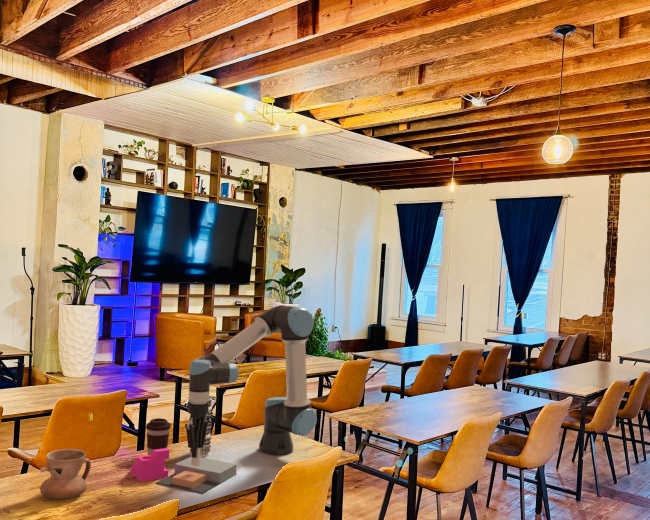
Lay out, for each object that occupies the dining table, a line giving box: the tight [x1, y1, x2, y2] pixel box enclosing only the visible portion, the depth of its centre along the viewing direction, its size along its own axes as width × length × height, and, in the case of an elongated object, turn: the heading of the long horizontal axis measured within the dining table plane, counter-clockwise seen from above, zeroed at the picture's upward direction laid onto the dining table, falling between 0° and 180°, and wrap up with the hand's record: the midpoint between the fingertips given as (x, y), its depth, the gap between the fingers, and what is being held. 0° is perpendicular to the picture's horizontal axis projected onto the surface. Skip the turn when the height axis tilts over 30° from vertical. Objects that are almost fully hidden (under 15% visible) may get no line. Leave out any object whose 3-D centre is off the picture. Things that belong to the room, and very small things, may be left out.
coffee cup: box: [145, 417, 172, 455], centre depth 251 cm, size 10×10×15 cm
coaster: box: [172, 470, 207, 488], centre depth 222 cm, size 9×9×2 cm
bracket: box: [129, 447, 170, 482], centre depth 229 cm, size 12×10×10 cm
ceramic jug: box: [39, 448, 92, 501], centre depth 205 cm, size 18×14×14 cm
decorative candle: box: [189, 394, 214, 458], centre depth 257 cm, size 9×9×25 cm
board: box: [173, 455, 238, 484], centre depth 232 cm, size 12×20×4 cm, turn 68°
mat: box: [155, 473, 228, 495], centre depth 224 cm, size 16×20×1 cm
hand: (195, 465), depth 225 cm, fingers closed
